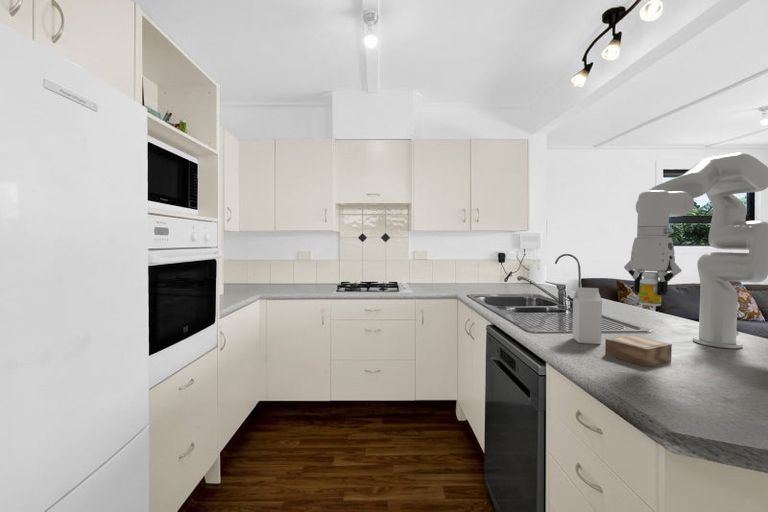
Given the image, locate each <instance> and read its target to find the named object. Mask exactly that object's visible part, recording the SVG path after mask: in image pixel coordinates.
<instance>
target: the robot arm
mask: <svg viewBox="0 0 768 512" xmlns="http://www.w3.org/2000/svg"><path fill="white" fill-rule="evenodd" d="M767 188H768V166H767V165H766V164H765V163H763V162H762V161H760V160H759V159H757V158H756V157H754V156H753V155H751V154H749V153H744V152H735V153H730V154H725V155H724V154H723V155H719V156H712V157H708V158H704V159H703V160H701V161H699V162H698V163H696V164H695V165H694V166H692V167H691V168H689V170H687V171H685V173H684V174H681V175H679V176H677V177H674V178H672V179H669V180H667V181H665V182H662V183H659V184H657V185H655V186H652V187H651V188H649V189H648V190H646V191H644V192H641V193H640V194H638V197H637V201H636V203H635V211H636V213H637V225H636V237H634V239H633V243H632V246H631V247H632V248H631V253H630V260H629V261H628V262H627V263H626V264H625V265H624V266H623V268H624V270H625V271H627V272H628V274H629V275H630V276H631V277H632V279H633V280H634V290H635V291H634V293H636V294H639V288H640V280H641V279H643V272H658V275H659V278H658V279H659V280H660V281H659V282H658V291H657V294H658V295H662V296H666V295H667V293H668V283H669V282H670V281H671V280H672V279H673V278H675V276H677V275H679V274H680V273H681V272H682V270H683V269H682V268H681V267H680V266H679V265H678V264H677V263H676V260H675V259H676V255H675V248H674V247H675V246H674V242H673V237H669V236H670V234H674V232H675V230H674V228H670V226H669V225H670V218H676V217H683V216H687V215H688V214H690V213H691V212H692V211H693V209H694V206H695V199H697V198H700V197H702V196H704V195H705V194H706V197H707V198H708V200H709V201H710V204H711V206H712V215H711V217H712V218H711V221H710V225H709V226H710V227H709V231H708V232H709V233H708V244H709V246H710V247H712V248H714V249H717V250H731V252H727V251H726V252H724V251H723V252H721V251H720V252H719V251H717V252H715V251H714V252H708V253H704V254H702V255H701V256H700V257H699V258H698V259H697V263H696V264H697V265H696V266H697V271H698V277H699V282H700V283H699V285H700V289H699V292H700V293H699V315H698V316H699V317H698V335H695V336H692V340H693V342H694V343H697V344H701V345H704V346H708V347H714V348H721V349H741V348H743V343H742V342H740V341H737V337H738V336H739V335H740V333H739V331H737V325H738V324H737V323H738V299H739V296H738V292H737V290H736V288H735V287H734V286H733V285H732V283H731V282H737V283H738V282H741V283H755V284H757V283H761V282H764V281H765V280H766V279H767V278H768V222H767V221H764V220H746V219H747V218H746V217H747V213H748V211H747V210H748V209H747V206H746V204H745V203H744V202H743V201H742V200H741V199H739V198H738V197H737V196H736V195H735V194H737V195H738V194H748V193H757V192H762V191H764V190H767ZM732 250H737V251H738V250H740V251H741V250H742V251H743V250H744V251H748V252H732Z"/></svg>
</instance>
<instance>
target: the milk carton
mask: <svg viewBox="0 0 768 512" xmlns="http://www.w3.org/2000/svg"><path fill="white" fill-rule="evenodd" d="M599 290H600V289H599V288H598V287H597V288H596V287H576V290H575V293H574V295H573V297H572V298H573V299H572V300H573V301H572V335H571V336H572V339H573V340H574V341H576V342H577V343H578V344H594V345H595V344H596V345H601V344H602V322H603V321H602V318H603V317H602V315H603V314H602V313H603V299H602V297H601V295H600V292H599Z"/></svg>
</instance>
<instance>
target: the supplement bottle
mask: <svg viewBox="0 0 768 512" xmlns="http://www.w3.org/2000/svg"><path fill="white" fill-rule="evenodd" d="M659 281H660V278H659V275H658V272H657V271H645V272H643V276H642V279H641V280H640V288H639V293H638V294H639V295H638V304H639V305H643V306H648V307H649V306H650V307H661V305H662V296H663V295H658V294H657V291H658V282H659Z"/></svg>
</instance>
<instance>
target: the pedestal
mask: <svg viewBox="0 0 768 512" xmlns="http://www.w3.org/2000/svg"><path fill="white" fill-rule="evenodd" d="M672 345H673V344H671V343H667V342H663V341H658V340H654V339H650V338H645V337H641V336H636V335H633V334H632V335H631V334H626V335H621V336H614V337H610V338H605V346H604V349H605V352H604V355H605V356H608V357H611V358H615V359H619V360H621V361H624V362H629V363H632V364H636V365H638V366H641V367H645V368H646V367H651V366H652V367H653V366H657V365H660V364H664V363H665V364H666V363H669V362H672V349H673V348H672V347H673V346H672Z"/></svg>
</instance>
